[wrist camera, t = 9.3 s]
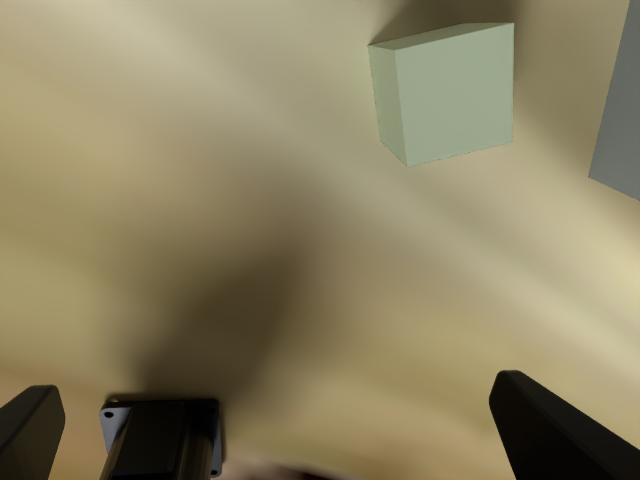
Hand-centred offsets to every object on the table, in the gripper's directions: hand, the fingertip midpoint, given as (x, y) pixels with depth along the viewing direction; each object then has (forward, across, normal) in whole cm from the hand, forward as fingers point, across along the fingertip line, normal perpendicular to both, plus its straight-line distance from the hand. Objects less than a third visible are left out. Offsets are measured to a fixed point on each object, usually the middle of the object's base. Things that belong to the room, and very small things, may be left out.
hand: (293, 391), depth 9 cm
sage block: (+12, -6, -5) cm, 14 cm away
